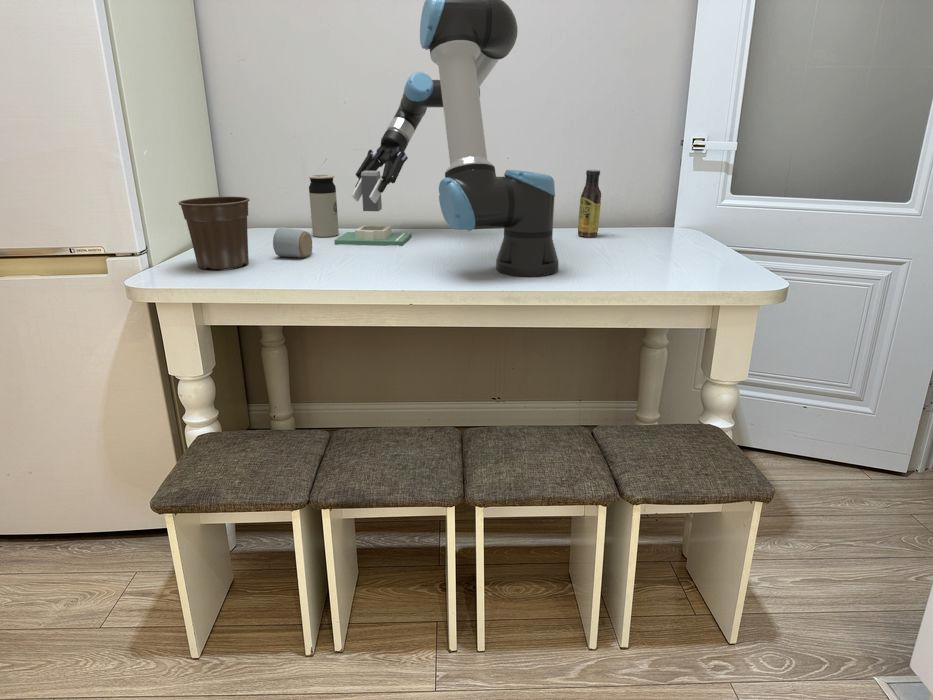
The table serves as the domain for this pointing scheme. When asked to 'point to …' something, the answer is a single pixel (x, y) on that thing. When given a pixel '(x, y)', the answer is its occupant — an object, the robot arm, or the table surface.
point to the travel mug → (323, 206)
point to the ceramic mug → (292, 243)
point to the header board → (373, 236)
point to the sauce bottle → (590, 205)
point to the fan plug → (370, 190)
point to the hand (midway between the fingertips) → (363, 199)
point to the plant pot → (218, 230)
